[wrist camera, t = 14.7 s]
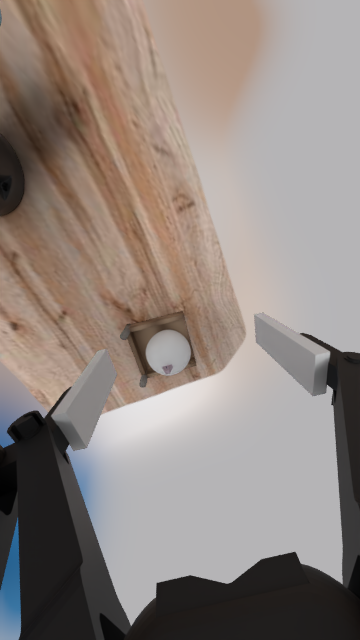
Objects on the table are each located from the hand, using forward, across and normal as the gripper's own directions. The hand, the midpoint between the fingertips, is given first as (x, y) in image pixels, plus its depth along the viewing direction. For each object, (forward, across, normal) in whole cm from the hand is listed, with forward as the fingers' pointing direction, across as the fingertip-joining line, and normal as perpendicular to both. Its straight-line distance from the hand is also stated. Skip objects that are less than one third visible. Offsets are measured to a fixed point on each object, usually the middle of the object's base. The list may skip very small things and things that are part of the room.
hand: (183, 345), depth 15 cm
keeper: (+28, -6, -13) cm, 32 cm away
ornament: (+28, -4, -13) cm, 31 cm away
